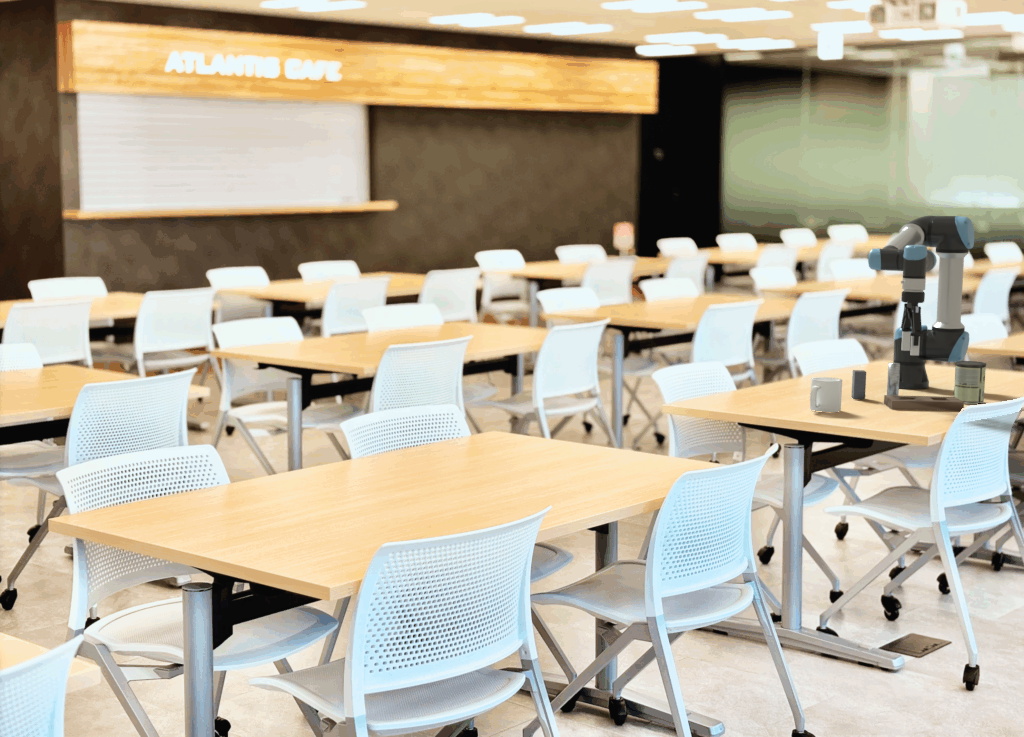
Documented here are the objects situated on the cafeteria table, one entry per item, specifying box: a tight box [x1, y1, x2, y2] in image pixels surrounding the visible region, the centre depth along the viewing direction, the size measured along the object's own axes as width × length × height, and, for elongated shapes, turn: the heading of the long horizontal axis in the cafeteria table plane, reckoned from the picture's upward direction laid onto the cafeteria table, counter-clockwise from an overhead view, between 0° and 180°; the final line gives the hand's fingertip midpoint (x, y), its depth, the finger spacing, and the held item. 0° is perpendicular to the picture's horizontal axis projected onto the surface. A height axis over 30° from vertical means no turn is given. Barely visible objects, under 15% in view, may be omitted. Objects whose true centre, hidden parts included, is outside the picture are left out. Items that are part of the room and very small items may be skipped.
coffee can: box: [953, 360, 987, 405], centre depth 466 cm, size 10×10×14 cm
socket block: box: [883, 394, 965, 412], centre depth 454 cm, size 12×24×3 cm, turn 86°
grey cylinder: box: [886, 362, 900, 396], centre depth 470 cm, size 4×4×13 cm
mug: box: [809, 376, 843, 412], centre depth 443 cm, size 14×10×11 cm
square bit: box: [851, 369, 867, 400], centre depth 471 cm, size 4×4×10 cm
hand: (909, 352), depth 452 cm, fingers open, 13 cm apart
